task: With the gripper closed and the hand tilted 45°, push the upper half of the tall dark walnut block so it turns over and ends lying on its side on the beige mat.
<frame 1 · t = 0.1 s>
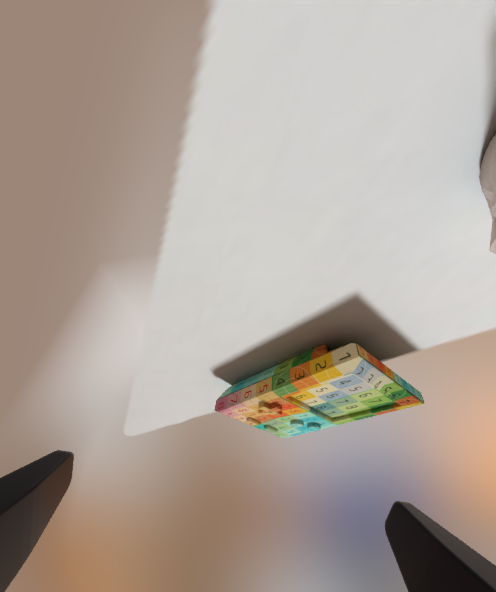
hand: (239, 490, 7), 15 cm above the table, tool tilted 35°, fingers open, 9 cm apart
puzzle game: (306, 374, 33), on the table
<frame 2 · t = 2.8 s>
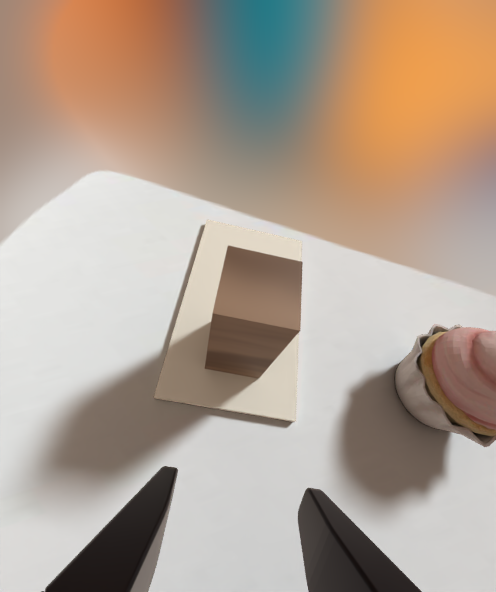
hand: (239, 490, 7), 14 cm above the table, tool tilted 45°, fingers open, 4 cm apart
walnut block: (236, 347, 23), point 1 cm above the table, touching beige mat
cupcake: (424, 390, 25), on the table
beige mat: (242, 305, 26), on the table
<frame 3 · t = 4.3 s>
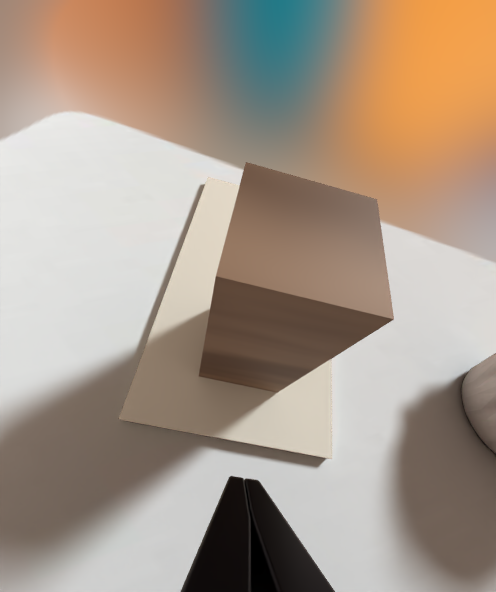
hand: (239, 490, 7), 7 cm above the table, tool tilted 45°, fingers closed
walnut block: (244, 346, 16), point 1 cm above the table, touching beige mat
beige mat: (253, 288, 19), on the table
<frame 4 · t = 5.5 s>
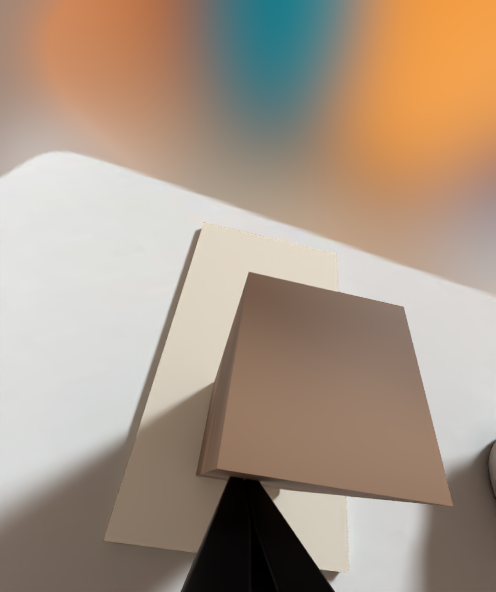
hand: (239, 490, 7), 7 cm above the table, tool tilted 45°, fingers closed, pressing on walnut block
walnut block: (247, 431, 14), point 1 cm above the table, touching gripper, beige mat
beige mat: (255, 354, 17), on the table
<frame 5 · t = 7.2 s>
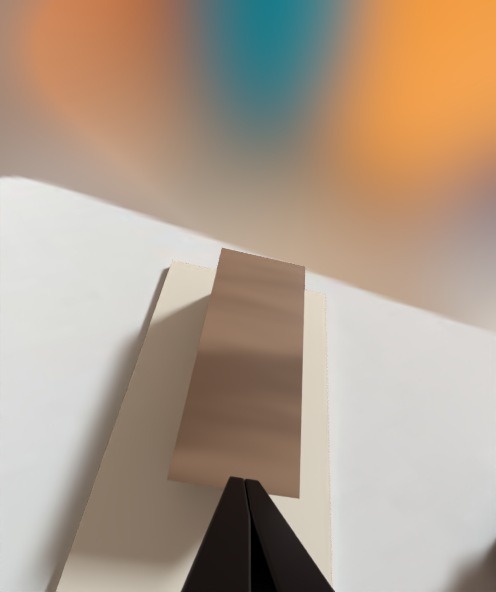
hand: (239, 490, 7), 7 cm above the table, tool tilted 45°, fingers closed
walnut block: (226, 483, 11), point 3 cm above the table, tilted 90°, touching beige mat
beige mat: (227, 427, 14), on the table
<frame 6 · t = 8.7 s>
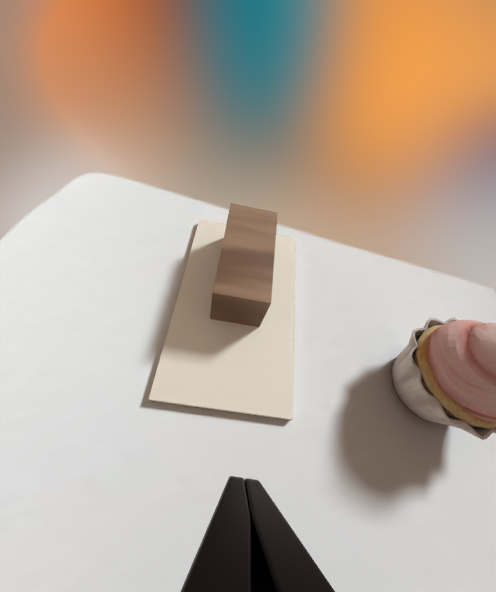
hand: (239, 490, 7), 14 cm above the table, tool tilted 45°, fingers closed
walnut block: (238, 311, 22), point 3 cm above the table, tilted 90°, touching beige mat
cupcake: (421, 385, 25), on the table
beige mat: (237, 304, 26), on the table
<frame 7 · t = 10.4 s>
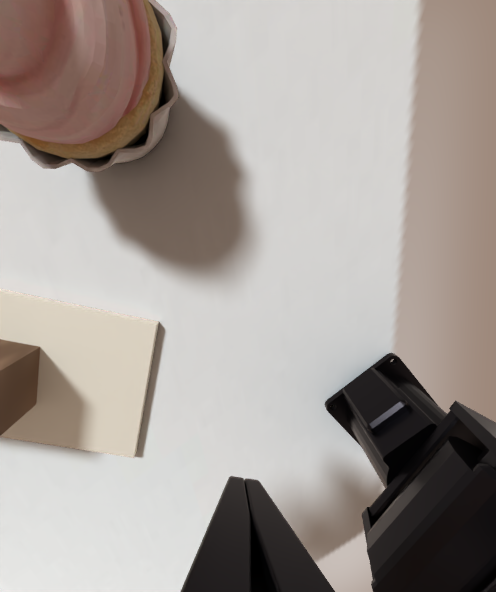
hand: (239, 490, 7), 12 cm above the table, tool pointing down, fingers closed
walnut block: (12, 395, 16), point 3 cm above the table, tilted 90°, touching beige mat
cupcake: (115, 103, 16), on the table
beige mat: (10, 365, 19), on the table
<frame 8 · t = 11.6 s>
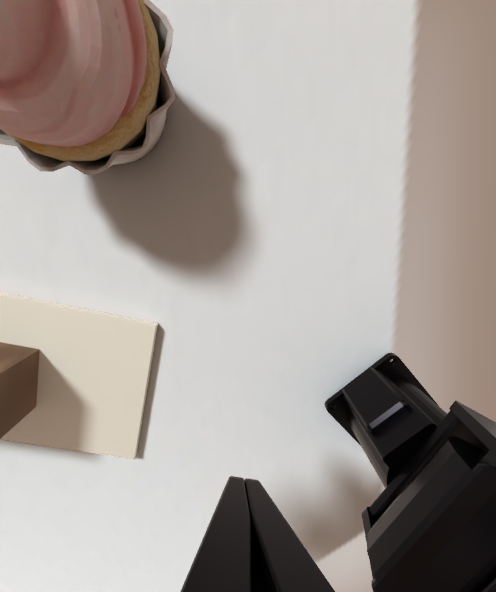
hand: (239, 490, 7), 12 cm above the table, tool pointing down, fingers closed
walnut block: (11, 398, 16), point 3 cm above the table, tilted 90°, touching beige mat
cupcake: (112, 104, 16), on the table
beige mat: (10, 368, 19), on the table
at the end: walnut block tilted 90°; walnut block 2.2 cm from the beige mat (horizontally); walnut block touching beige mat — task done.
